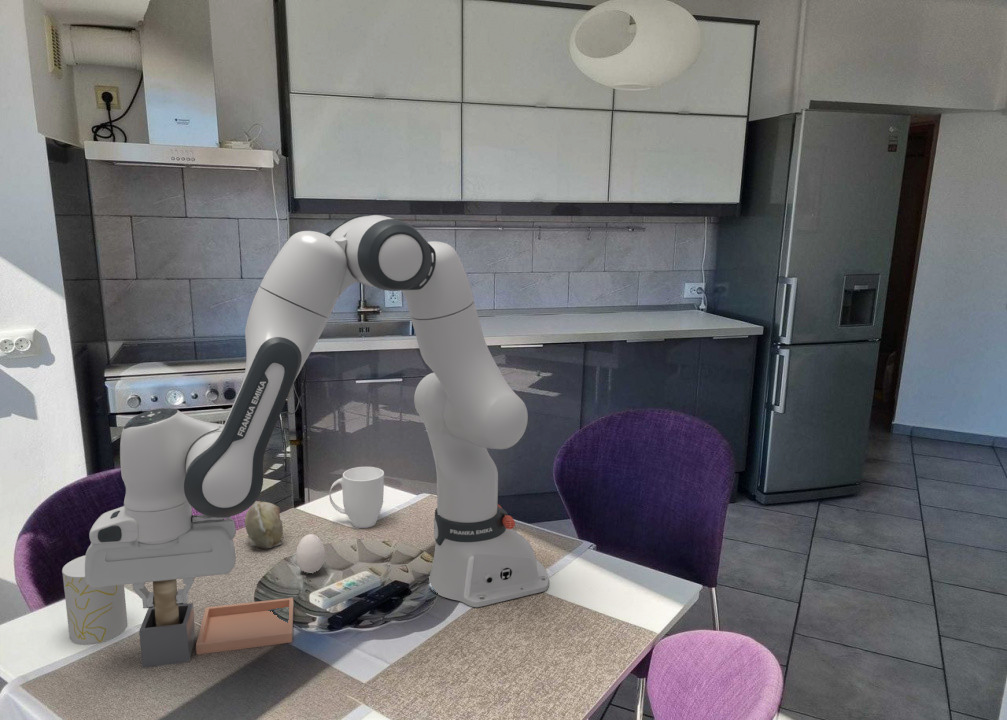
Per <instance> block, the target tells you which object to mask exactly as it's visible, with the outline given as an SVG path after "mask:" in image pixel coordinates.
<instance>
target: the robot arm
mask: <svg viewBox="0 0 1007 720" xmlns="http://www.w3.org/2000/svg"><path fill="white" fill-rule="evenodd" d="M356 283H359V284H362V285H364V286H367V287H372V288H373V287H374V288H377V289H379V290H382V291H388V292H400V291H401V292H402V294H403V296H404V297H405V300H406V305H407V307H408V313H409V316H410V319H411V323H412V326H413V329H414V330H413V331H414V334H415V337H416V341H417V345H418V348H419V351H420V355H421V357H422V359H423V361H424V363H425V364H426V365H427V367H429V368H430V370H431V371H432V372H431V373H429V374H426V375H425V376H424V377H423V378H422V379H421V380H420V381H419V383H418V384H417V386H416V388H415V392H414V395H413V405H414V409H415V410H416V412H417V414H418V415H419V416H420V418H421V420H422V422H423V424H424V427H425V429H426V430H425V431H426V432H427V437H428V440H429V443H430V447H431V452H432V455H433V459H434V463H435V470H436V498H437V499H436V500H437V501H436V508H435V510H434V518H433V535H434V536H433V537H434V541H435V545H434V546H435V547H434V554H433V559H432V560H433V561H432V565H431V570H430V572H429V575H430V576H428V578H429V580H430V583H431V585H432V586H433V588H434V589H435V590H436V592H438V594H437V595H438V596H440V597H443V598H447V599H450V600H454V601H458V602H461V603H464V604H466V605H467V606H469V607H473V608H479V607H485V606H489V605H494V604H498V603H501V602H507V601H510V600H513V599H517V598H518V599H519V598H522V597H526V596H531V595H535V594H539V593H542V592H543V593H544V592H546V591H547V590H548V588H549V586H550V579H549V574H548V572H547V570H546V567H544V565H543V564H542V563H541V562H540V561H539V560H538V559H537V557H536V554H535V550H534V548H533V546H532V544H531V543H530V542H529V541H528V540H527V538H526V537H524V535H522V534H520V533H518V531H515V530H514V529H515V528H514V527H515V526H516V521H515V520H514V518H513V516H511V515H508V512H507V510H505V509H504V508H502V506H501V505H500V504H498V497H499V495H498V494H499V493H498V492H499V491H498V490H499V472H498V468H497V465H496V464H495V461H494V460H493V459H492V457H491V455H490V453H489V451H488V449H491V450H492V449H494V450H506V449H509V448H512V447H513V446H514V445H516V444H517V443H518V442H519V441H520V439H522V437H523V436H524V434H525V432H526V429H527V425H528V419H529V417H528V409H527V406H526V403H525V402H524V400H523V399H522V398H520V396H519V395H518V394H516V393H515V392H514V390H513V389H512V388H511V386H510V385H509V383H508V382H507V381H506V379H505V377H504V376H503V374H502V372H501V370H500V369H499V367H498V365H497V363H496V361H495V359H494V358H493V354H492V353H491V352H490V349H489V347H488V345H487V342H486V338H485V337H484V333H483V330H482V326H481V322H480V319H479V315H478V311H477V306H476V302H475V298H474V294H473V290H472V288H471V285H470V281H469V279H468V276H467V273H466V270H465V268H464V266H463V263H462V260H461V259H460V256H459V255H458V253H457V250H456V249H455V248H454V247H453V246H451V245H450V244H449V243H446V242H442V241H438V240H436V241H435V240H434V241H433V240H432V241H431V240H430V241H427V240H426V239H425V238H424V236H423V235H422V234H421V233H420V232H419V231H418V230H417V229H416V228H415V227H414V226H412V224H409V223H408V222H405V221H404V220H400V219H396V218H392V217H388V216H386V215H385V216H384V215H382V214H381V215H379V214H373V215H366V214H362V215H361V214H360V215H358V214H357V215H354V216H351V217H349V218H346V219H344V220H343V221H342V222H340V223H339V224H338V225H336V226H335V227H333V228H332V229H331V230H329V231H327V232H326V233H325V234H324V233H322V232H319V231H313V230H302V231H298V232H296V233H294V234H292V235H291V236H290V237H289V238H288V240H287V241H286V242H285V244H284V245H283V246H282V248H281V249H280V250H279V252H278V253H277V255H276V256H275V257H274V259H273V261H272V262H271V264H270V265H269V267H268V269H267V271H266V273H265V274H264V277H263V278H262V280H261V282H260V284H259V286H258V289H257V291H256V293H255V296H254V298H253V300H252V302H251V306H250V309H249V313H248V316H247V320H246V325H245V329H244V332H245V333H244V337H245V349H246V350H245V351H246V354H245V355H246V361H245V370H244V376H243V378H242V379H243V380H242V383H241V386H240V388H239V390H238V393H237V395H236V397H235V400H234V402H233V404H232V407H231V408H230V411H229V413H228V415H227V417H226V420H225V422H224V423H215V422H211V421H210V422H209V421H205V420H201V419H198V418H195V417H192V416H189V415H187V414H185V413H183V412H182V411H180V410H179V409H177V408H173V407H172V408H171V407H167V408H164V407H163V408H162V407H161V408H156V409H151V410H147V411H144V412H142V413H139V414H138V415H135V416H133V417H131V419H129V420H128V421H127V423H125V424H124V426H123V428H122V430H121V433H120V434H121V435H120V442H119V443H120V445H119V457H120V459H119V461H120V462H119V463H120V472H121V473H120V474H121V478H122V481H123V482H124V487H125V496H124V499H123V500H124V501H123V506H120V507H118V508H117V507H116V508H115V509H111V510H108V511H106V512H104V513H102V514H100V516H98V518H97V519H96V520H95V522H94V523H93V525H92V527H91V528H90V530H89V533H88V535H89V536H88V537H89V540H90V545H89V546H88V547H87V550H86V552H85V555H86V556H85V555H84V556H85V581H86V583H87V584H88V585H90V586H91V587H93V588H96V587H105V586H115V585H124V586H125V585H132V590H133V592H135V594H136V595H137V596H138V597H139V598H140V599H142V600H141V601H142V608H143V609H148V608H152V607H155V606H154V593H153V591H151V592H150V591H149V589H148V588H147V587H146V586H145V585H146V583H153V582H154V581H163V580H173V579H176V580H179V579H180V580H182V583H183V585H184V587H183V588H180V589H178V588H177V593H176V600H177V602H176V604H177V605H180V604H188V602H189V599H190V598H189V591H190V590H191V588H192V586H193V584H194V583H195V579H196V578H202V577H212V576H221V575H228V574H230V573H231V572H232V571H233V570H234V568H235V566H236V560H237V556H236V555H237V554H236V548H235V543H234V538H235V537H236V533H237V532H236V531H237V529H236V522H235V520H234V519H233V518H232V517H234V516H237V515H239V514H242V513H244V512H246V510H247V511H248V510H249V509H250V507H251V506H252V505H253V504H254V503H255V501H258V498H259V497H260V495H261V493H262V489H263V486H264V459H265V458H264V457H265V453H266V449H267V446H268V444H269V443H270V439H271V437H272V435H273V432H274V430H275V427H276V425H277V423H278V420H279V419H280V416H281V413H282V410H283V408H284V407H285V404H286V401H287V400H288V398H289V394H290V391H291V389H292V387H293V386H294V383H295V381H296V379H297V378H298V376H299V374H300V372H301V371H302V369H303V367H304V364H305V363H306V360H308V357H309V356H310V354H311V352H312V351H313V350H314V348H315V346H316V344H317V342H318V340H319V338H320V337H321V335H322V333H323V331H324V329H325V327H326V325H328V322H329V321H328V320H329V319H330V317H331V315H332V313H333V310H334V308H335V306H336V304H337V301H338V299H340V297H341V295H342V293H343V292H345V290H346V289H348V287H350V286H352V285H353V284H356ZM192 508H193V509H194V510H195V511H197V512H198V513H199V514H198V515H197V514H196V515H193V509H192Z"/></svg>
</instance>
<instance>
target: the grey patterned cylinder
mask: <svg viewBox="0 0 1007 720" xmlns="http://www.w3.org/2000/svg"><path fill="white" fill-rule="evenodd" d="M85 556H86V554H85V555H82V556H78V557H76V558H74V559H72V560H71V561H69V562H67V563H66V564H65V565H63V567H62V570H61V573H62V580H63V581H62V583H63V590H64V597H65V598H64V600H65V608H66V618H67V625H68V627H67V629H68V634H69V637H68V638H69V639H70V641H71V642H72V643H73V644H76V645H82V646H87V645H89V646H90V645H96V644H101V643H104V642H107V641H110V640H112V639H114V638H116V637H118V636H119V635H121V634H122V633H123V632H125V631H126V629H127V627H128V624H129V623H128V615H127V613H128V612H127V603H126V593H125V584H124V585H115V586H105V587H96V588H93V587H91V586H90V585H88V584H87V583H86V581H85Z"/></svg>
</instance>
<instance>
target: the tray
mask: <svg viewBox="0 0 1007 720" xmlns="http://www.w3.org/2000/svg"><path fill="white" fill-rule="evenodd" d="M284 607H289V620H288V623H287V622H285V621H283V620H281V619H279V618H278V617H277V615H274V614H273V612H272V611H271V612H270V611H268V610H271V609H276V608H284ZM293 626H294V597H288V598H279V599H269V600H261V601H252V602H243V603H242V602H241V603H234V604H233V603H232V604H224V605H218V606H217V605H215V606H207V607H205V609H204V612H203V617H202V620H201V625H200V629H199V632H198V636H197V641H196V645H195V651H196V655H205V654H212V653H217V652H226V651H234V650H243V649H249V648H250V649H252V648H257V647H259V648H260V647H267V646H273V645H282V644H287V643H288V644H289V643H293V634H294V633H293V631H294V627H293Z"/></svg>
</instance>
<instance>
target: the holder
mask: <svg viewBox="0 0 1007 720" xmlns="http://www.w3.org/2000/svg"><path fill="white" fill-rule="evenodd" d="M178 610H179V624H175V625H167V626H158V627H156V618H155V607H152V608H147V609H146V613H145V616H144V618H143V621H142V623H141V625H140V628H139V630H138V631H139V633H138V634H139V643H140V656H141V657H140V658H141V666H142V669H147V668H151V667H152V668H153V667H154V668H155V667H159V666H160V667H161V666H167V665H175V664H176V665H177V664H182V663H190V660H191V656H192V653H193V650H194V646H195V645H194V644H195V641H196V638H197V637H196V628H195V627H196V626H195V611H194V602H189V603H187V604H180V605H178Z"/></svg>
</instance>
